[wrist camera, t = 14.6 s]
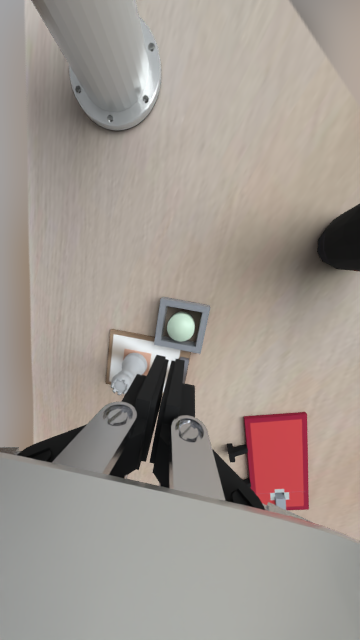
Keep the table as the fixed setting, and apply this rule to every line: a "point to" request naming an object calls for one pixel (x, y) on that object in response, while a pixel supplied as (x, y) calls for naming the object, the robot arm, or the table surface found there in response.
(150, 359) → the clipboard
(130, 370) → the rook chess piece
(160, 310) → the button housing
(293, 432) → the red board with handle
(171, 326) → the button
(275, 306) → the table surface
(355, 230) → the portable speaker
